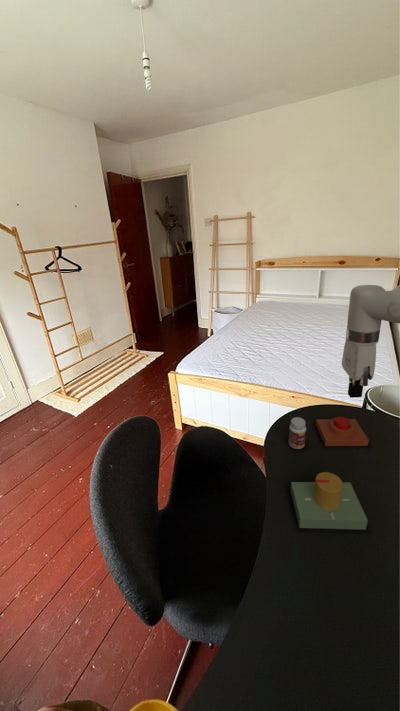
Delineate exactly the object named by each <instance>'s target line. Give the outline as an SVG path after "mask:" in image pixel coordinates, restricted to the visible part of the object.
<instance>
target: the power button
mask: <svg viewBox="0 0 400 711" xmlns="http://www.w3.org/2000/svg"><path fill="white" fill-rule="evenodd" d="M335 418H336V419H335V426H336V427H337V428H340V429H348V428H349V424H350V421H349V420H348V419H349V418H347V417H345V416H337V417H335Z"/></svg>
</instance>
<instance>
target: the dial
mask: <svg viewBox="0 0 400 711" xmlns="http://www.w3.org/2000/svg"><path fill="white" fill-rule="evenodd" d="M314 482H315V489H314V500H315V502H316V503H317V505H319V506H320V507H321V508H323V509H326V510H335V509H337V508H338V507H339V505H340V501H341V495H342V489H343V483H342V482H343V481H342V479H341V478H340V477H339V476H338V475H336V474H334V473H332V472H328V471H323V472H319V473H318V474H316V476H315V481H314Z"/></svg>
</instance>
